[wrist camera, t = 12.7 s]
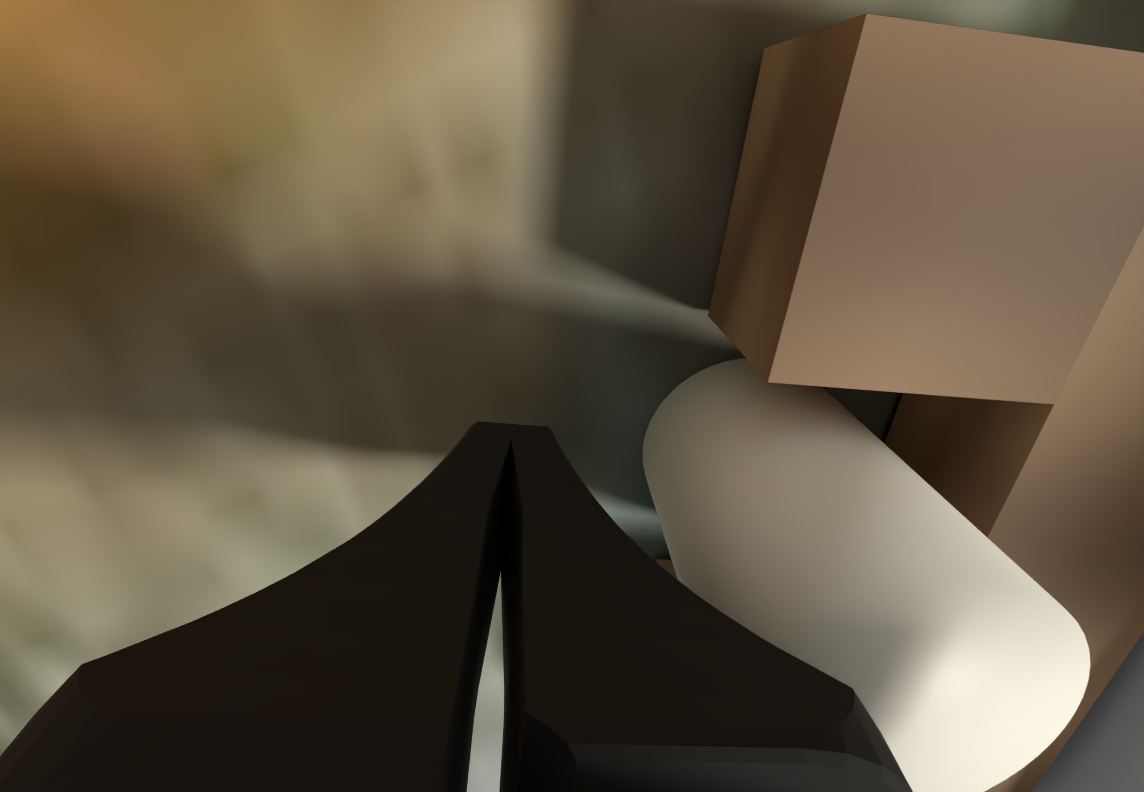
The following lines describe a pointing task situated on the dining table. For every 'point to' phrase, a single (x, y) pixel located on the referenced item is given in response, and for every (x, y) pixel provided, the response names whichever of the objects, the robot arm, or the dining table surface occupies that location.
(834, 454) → the dowel
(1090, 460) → the block
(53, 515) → the dining table surface
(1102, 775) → the wall
